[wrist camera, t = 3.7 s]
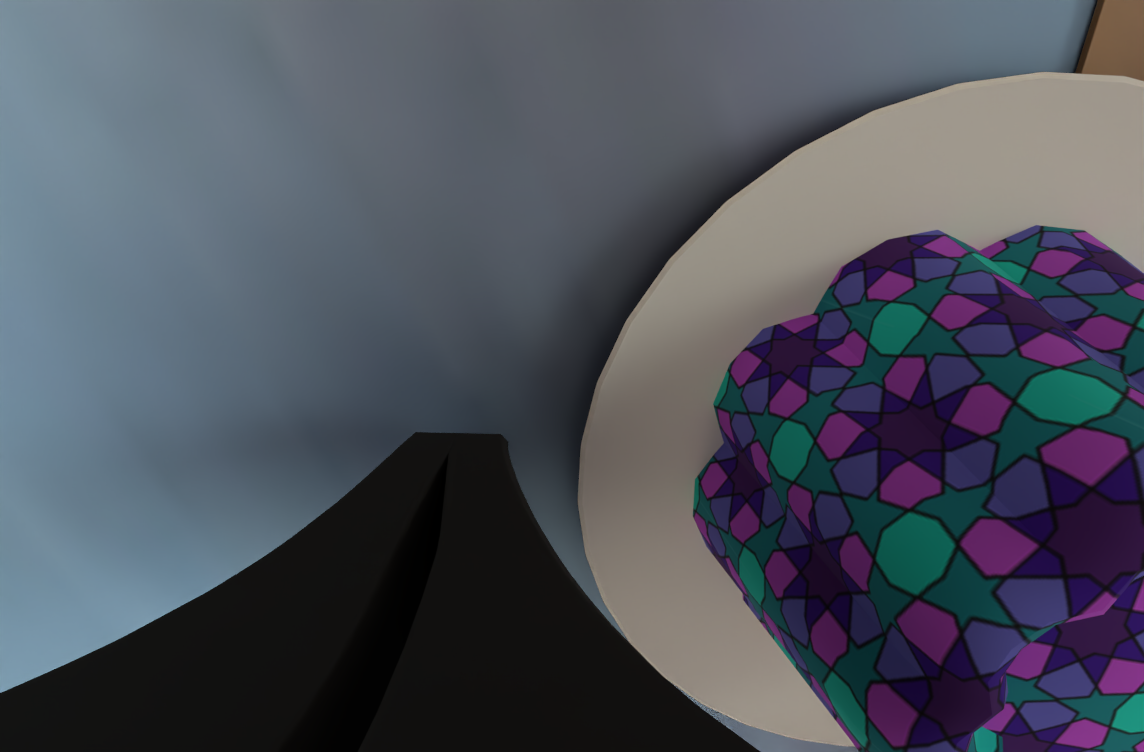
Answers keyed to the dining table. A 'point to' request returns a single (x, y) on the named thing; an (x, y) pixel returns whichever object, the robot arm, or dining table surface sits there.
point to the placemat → (1115, 40)
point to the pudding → (897, 433)
